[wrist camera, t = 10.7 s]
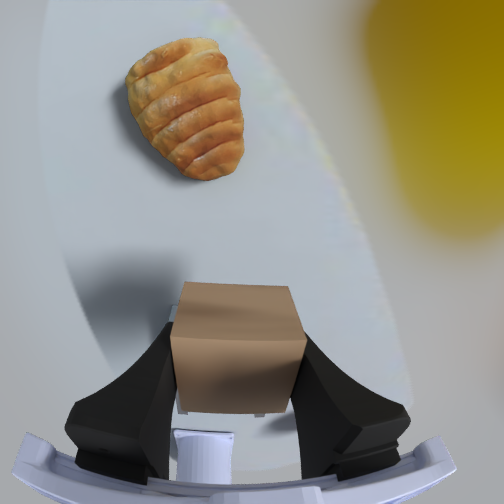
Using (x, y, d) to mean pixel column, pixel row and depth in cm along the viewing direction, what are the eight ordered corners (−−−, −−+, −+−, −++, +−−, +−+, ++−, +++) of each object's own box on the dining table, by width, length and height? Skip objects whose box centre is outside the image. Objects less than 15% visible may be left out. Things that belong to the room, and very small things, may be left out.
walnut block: (274, 358, 15) (284, 412, 12) (189, 355, 15) (181, 411, 11) (287, 286, 13) (307, 340, 10) (184, 281, 13) (170, 336, 9)
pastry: (268, 154, 18) (277, 159, 14) (178, 195, 18) (165, 210, 15) (212, 38, 14) (208, 16, 10) (124, 82, 15) (100, 72, 11)
